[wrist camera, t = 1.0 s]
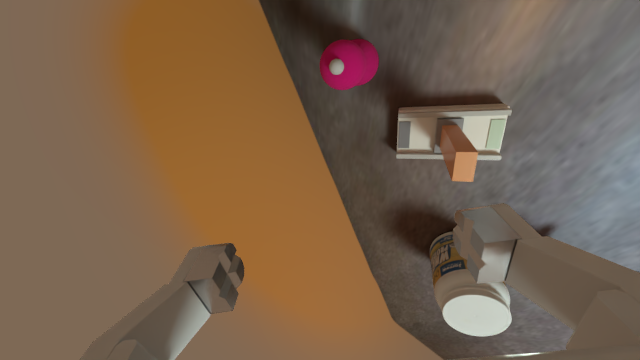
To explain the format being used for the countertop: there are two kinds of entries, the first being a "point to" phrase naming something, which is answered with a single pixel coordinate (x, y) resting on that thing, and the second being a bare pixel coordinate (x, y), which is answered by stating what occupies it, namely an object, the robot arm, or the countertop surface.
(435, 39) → the countertop surface
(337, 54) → the pepper mill
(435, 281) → the supplement tub
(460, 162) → the lever
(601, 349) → the robot arm
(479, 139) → the white base plate
